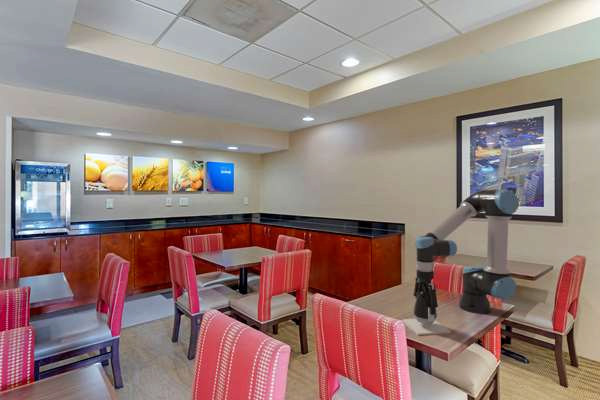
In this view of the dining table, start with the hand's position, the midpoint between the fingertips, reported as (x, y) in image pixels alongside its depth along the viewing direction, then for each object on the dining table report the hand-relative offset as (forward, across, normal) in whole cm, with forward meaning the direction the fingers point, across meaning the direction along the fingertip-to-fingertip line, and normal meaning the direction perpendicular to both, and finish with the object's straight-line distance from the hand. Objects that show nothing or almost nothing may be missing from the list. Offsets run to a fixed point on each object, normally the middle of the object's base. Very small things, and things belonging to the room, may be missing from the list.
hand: (425, 316), depth 151 cm
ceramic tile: (+5, 0, 0) cm, 5 cm away
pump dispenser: (+3, 0, 0) cm, 3 cm away
